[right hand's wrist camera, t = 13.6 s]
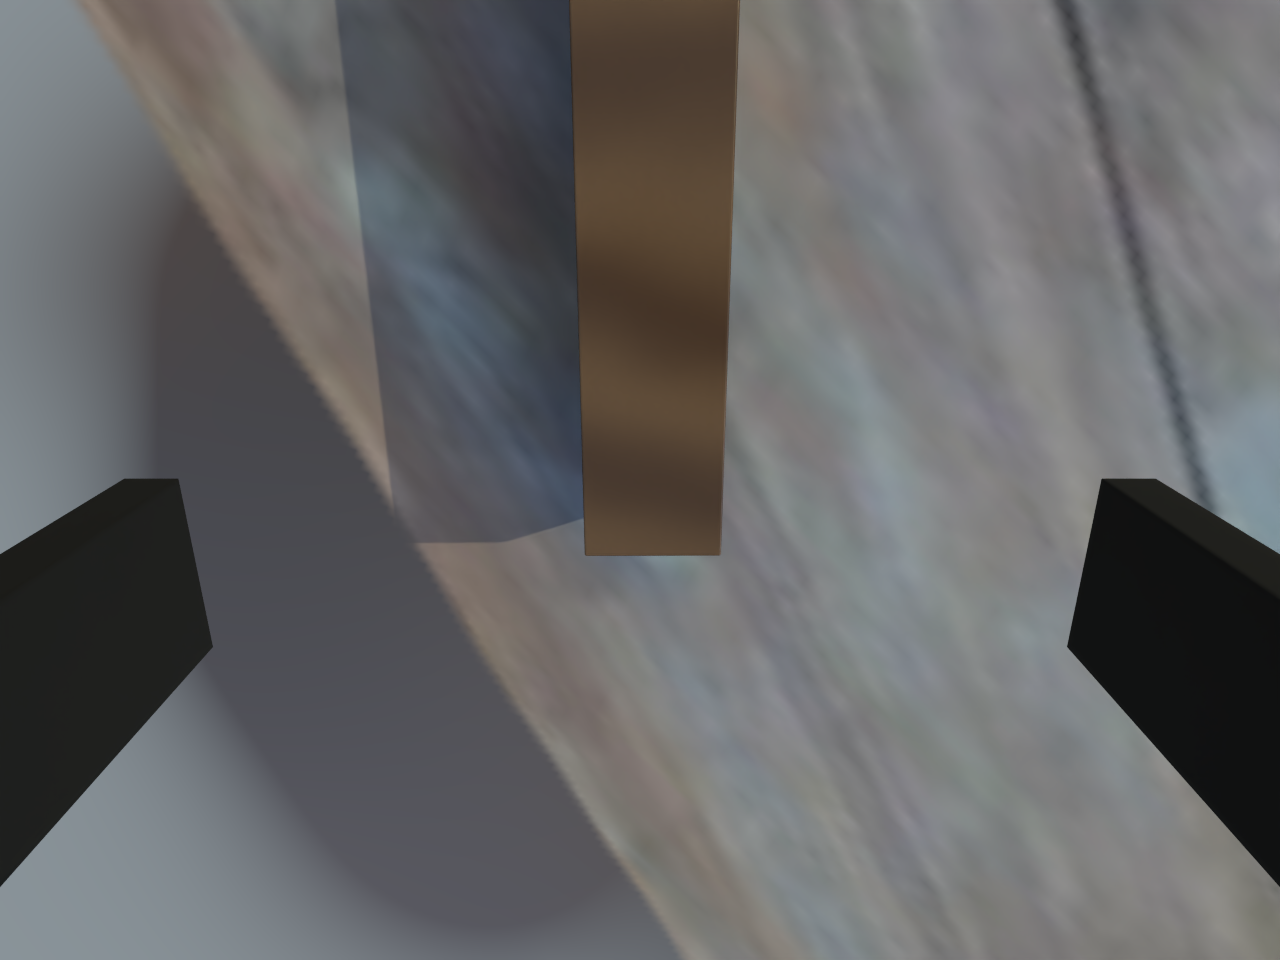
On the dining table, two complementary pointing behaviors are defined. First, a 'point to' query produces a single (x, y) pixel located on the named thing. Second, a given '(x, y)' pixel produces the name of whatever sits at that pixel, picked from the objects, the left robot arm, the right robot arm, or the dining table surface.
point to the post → (653, 267)
